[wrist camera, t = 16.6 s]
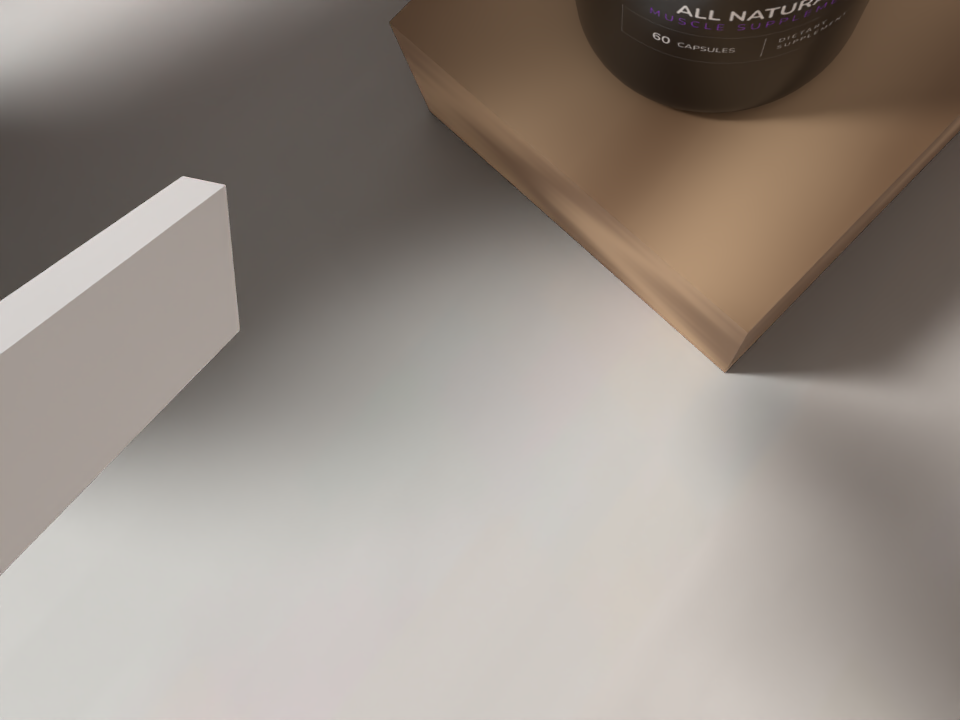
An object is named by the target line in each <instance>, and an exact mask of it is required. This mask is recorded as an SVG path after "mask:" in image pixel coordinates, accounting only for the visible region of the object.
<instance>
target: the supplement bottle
mask: <svg viewBox="0 0 960 720" xmlns="http://www.w3.org/2000/svg"><path fill="white" fill-rule="evenodd" d="M575 2H576V7H577V11H578V16H579V20H580V23H581V26H582V29H583V32H584V34H585V36H586V38H587V40H588V43H589V44H590V46H591V48H592V49H593V51H594V53H595V54H596V56H597V57H598V58H599V59H600V61H601V62H602V63H603V65H604V66H605V67H606V68H607V69H608V70H609V71H610V72H611V73H612V74H613V75H614V76H615V77H616V78H617V79H618V80H620V81H621V82H622V83H623V84H624V85H626V86H627V87H629V88H630V89H632V90H633V91H635V92H636V93H638V94H640V95H642V96H644V97H645V98H648V99H650V100H652V101H655V102H657V103H659V104H662V105H665V106H668V107H672V108H676V109H680V110H685V111H692V112H699V113H728V112H735V111H743V110H747V109H752V108H756V107H759V106H762V105H765V104H769V103H771V102H774V101H776V100H778V99H781V98H783V97H785V96H787V95H789V94H791V93H793V92H794V91H796V90H798V89H799V88H801V87H802V86H804V85H805V84H807V83H808V82H810V81H811V80H812V79H814V78H815V77H816V76H817V75H819V74H820V73H821V72H822V71H823V70H824V69H825V68H826V67H827V66H828V65H829V64H830V63H831V62H832V61H833V60H834V59H835V58H836V56H837V55H838V54H839V53H840V52H841V50H842V49H843V47H844V46H845V44H846V43H847V41H848V40H849V38H850V37H851V35H852V33H853V31H854V30H855V28H856V26H857V24H858V22H859V20H860V18H861V16H862V14H863V12H864V10H865V8H866V6H867V4H868V3H869V0H575Z"/></svg>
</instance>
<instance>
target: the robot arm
mask: <svg viewBox="0 0 960 720" xmlns="http://www.w3.org/2000/svg"><path fill="white" fill-rule="evenodd" d="M239 331H240V324H239V314H238V304H237V294H236V284H235V273H234V263H233V253H232V243H231V233H230V223H229V212H228V202H227V192H226V185H224V184H219V183H214V182H209V181H204V180H200V179H195V178H190V177H185V176H182V177H180V178H179V179H178V180H176V181H175V182H173V183H172V184H170V185H169V186H167V187H166V188H164V189H163V190H161V191H160V192H159V193H157V194H156V195H154V196H153V197H151V198H150V199H148V200H147V201H145V202H144V203H143V204H141V205H140V206H138V207H137V208H135V209H134V210H132V211H131V212H129V213H128V214H126V215H125V216H124V217H122V218H121V219H119V220H118V221H116V222H115V223H113V224H112V225H110V226H109V227H108V228H106V229H105V230H103V231H102V232H100V233H99V234H97V235H96V236H94V237H93V238H91V239H90V240H89V241H87V242H86V243H84V244H83V245H81V246H80V247H78V248H77V249H75V250H74V251H73V252H71V253H70V254H68V255H67V256H65V257H64V258H62V259H61V260H59V261H58V262H57V263H55V264H54V265H52V266H51V267H49V268H48V269H46V270H45V271H43V272H42V273H40V274H39V275H38V276H36V277H35V278H33V279H32V280H30V281H29V282H27V283H26V284H24V285H23V286H22V287H20V288H19V289H17V290H16V291H14V292H13V293H11V294H10V295H8V296H7V297H5V298H4V299H3V300H1V301H0V575H1V574H2V573H3V572H4V571H5V570H6V569H7V568H8V567H9V566H10V565H11V564H12V563H13V562H14V561H15V560H16V559H17V558H18V557H19V556H20V555H21V554H22V553H23V552H24V551H25V550H26V549H27V548H28V547H29V546H30V545H31V544H32V543H33V542H34V541H35V540H36V539H37V538H38V536H39V535H40V534H41V533H42V532H43V531H44V530H45V529H46V528H47V527H48V526H49V525H50V524H51V523H52V522H53V521H54V520H55V519H56V518H57V517H58V516H59V515H60V514H61V513H62V512H63V511H64V510H65V509H66V508H67V507H68V506H69V505H70V504H71V503H72V502H73V501H74V500H75V499H76V498H77V497H78V496H79V495H80V494H81V493H82V492H83V490H84V489H85V488H86V487H87V486H88V485H89V484H90V483H91V482H92V481H93V480H94V479H95V478H96V477H97V476H98V475H99V474H100V473H101V472H102V471H103V470H104V469H105V468H106V467H107V466H108V465H109V464H110V463H111V462H112V461H113V460H114V459H115V458H116V457H117V456H118V455H119V454H120V453H121V452H122V451H123V450H124V449H125V448H126V447H127V446H128V444H129V443H130V442H131V441H132V440H133V439H134V438H135V437H136V436H137V435H138V434H139V433H140V432H141V431H142V430H143V429H144V428H145V427H146V426H147V425H148V424H149V423H150V422H151V421H152V420H153V419H154V418H155V417H156V416H157V415H158V414H159V413H160V412H161V411H162V410H163V409H164V408H165V407H166V406H167V405H168V404H169V403H170V402H171V401H172V400H173V398H174V397H175V396H176V395H177V394H178V393H179V392H180V391H181V390H182V389H183V388H184V387H185V386H186V385H187V384H188V383H189V382H190V381H191V380H192V379H193V378H194V377H195V376H196V375H197V374H198V373H199V372H200V371H201V370H202V369H203V368H204V367H205V366H206V365H207V364H208V363H209V362H210V361H211V360H212V359H213V358H214V357H215V356H216V355H217V354H218V352H219V351H220V350H221V349H222V348H223V347H224V346H225V345H226V344H227V343H228V342H229V341H230V340H231V339H232V338H233V337H234V336H235V335H236V334H237V333H238V332H239Z"/></svg>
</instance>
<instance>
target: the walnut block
mask: <svg viewBox="0 0 960 720" xmlns="http://www.w3.org/2000/svg"><path fill="white" fill-rule="evenodd" d="M389 24H390V26H391V28H392V30H393V32H394V34H395V37H396V39H397V41H398V43H399V45H400V47H401V50H402V52H403V54H404V56H405V58H406V60H407V63H408V65H409V67H410V69H411V71H412V74H413V76H414V78H415V80H416V82H417V84H418V87H419V89H420V91H421V93H422V95H423V97H424V100H425V102H426V104H427V106H428V108H429V110H430V112H431V113H432V114H433V115H435V116H436V117H437V118H438V119H439V120H440V121H441V122H442V123H444V124H445V125H446V126H447V127H448V128H449V129H450V130H451V131H453V132H454V133H455V134H456V135H457V136H458V137H459V138H461V139H462V140H463V141H464V142H465V143H466V144H467V145H468V146H470V147H471V148H472V149H473V150H474V151H475V152H476V153H477V154H479V155H480V156H481V157H482V158H483V159H484V160H485V161H486V162H488V163H489V164H490V165H491V166H492V167H493V168H494V169H495V170H497V171H498V172H499V173H500V174H501V175H502V176H503V177H504V178H506V179H507V180H508V181H509V182H510V183H511V184H512V185H514V186H515V187H516V188H517V189H518V190H519V191H520V192H521V193H523V194H524V195H525V196H526V197H527V198H528V199H529V200H530V201H532V202H533V203H534V204H535V205H536V206H537V207H538V208H539V209H541V210H542V211H543V212H544V213H545V214H546V215H547V216H548V217H550V218H551V219H552V220H553V221H554V222H555V223H556V224H557V225H559V226H560V227H561V228H562V229H563V230H564V231H565V232H567V233H568V234H569V235H570V236H571V237H572V238H573V239H574V240H576V241H577V242H578V243H579V244H580V245H581V246H582V247H583V248H585V249H586V250H587V251H588V252H589V253H590V254H591V255H592V256H594V257H595V258H596V259H597V260H598V261H599V262H600V263H601V264H603V265H604V266H605V267H606V268H607V269H608V270H609V271H611V272H612V273H613V274H614V275H615V276H616V277H617V278H618V279H620V280H621V281H622V282H623V283H624V284H625V285H626V286H627V287H629V288H630V289H631V290H632V291H633V292H634V293H635V294H636V295H638V296H639V297H640V298H641V299H642V300H643V301H644V302H645V303H647V304H648V305H649V306H650V307H651V308H652V309H653V310H654V311H656V312H657V313H658V314H659V315H660V316H661V317H662V318H664V319H665V320H666V321H667V322H668V323H669V324H670V325H671V326H673V327H674V328H675V329H676V330H677V331H678V332H679V333H680V334H682V335H683V336H684V337H685V338H686V339H687V340H688V341H689V342H691V343H692V344H693V345H694V346H695V347H696V348H697V349H698V350H700V351H701V352H702V353H703V354H704V355H705V356H706V357H707V358H709V359H710V360H711V361H712V362H713V363H714V364H715V365H717V366H718V367H719V368H720V369H721V370H722V371H723V372H724V373H725V372H726V371H727V370H728V369H729V368H730V367H731V366H732V365H733V364H734V363H735V362H736V361H737V360H738V359H739V358H740V357H741V356H742V355H743V354H744V353H745V352H746V351H747V350H748V349H749V348H750V347H751V346H752V345H753V344H754V342H755V341H756V340H757V339H758V338H759V337H760V336H761V335H762V334H763V333H764V332H765V331H766V330H767V329H768V328H769V327H770V326H771V325H772V324H773V323H774V322H775V321H776V320H777V319H778V318H779V317H780V316H781V315H782V314H783V313H784V312H785V311H786V309H787V308H788V307H789V306H790V305H791V304H792V303H793V302H794V301H795V300H796V299H797V298H798V297H799V296H800V295H801V294H802V293H803V292H804V291H805V290H806V289H807V288H808V287H809V286H810V285H811V284H812V283H813V282H814V281H815V280H816V279H817V278H818V276H819V275H820V274H821V273H822V272H823V271H824V270H825V269H826V268H827V267H828V266H829V265H830V264H831V263H832V262H833V261H834V260H835V259H836V258H837V257H838V256H839V255H840V254H841V253H842V252H843V251H844V250H845V249H846V248H847V247H848V246H849V245H850V243H851V242H852V241H853V240H854V239H855V238H856V237H857V236H858V235H859V234H860V233H861V232H862V231H863V230H864V229H865V228H866V227H867V226H868V225H869V224H870V223H871V222H872V221H873V220H874V219H875V218H876V217H877V216H878V215H879V214H880V213H881V212H882V210H883V209H884V208H885V207H886V206H887V205H888V204H889V203H890V202H891V201H892V200H893V199H894V198H895V197H896V196H897V195H898V194H899V193H900V192H901V191H902V190H903V189H904V188H905V187H906V186H907V185H908V184H909V183H910V182H911V181H912V180H913V179H914V177H915V176H916V175H917V174H918V173H919V172H920V171H921V170H922V169H923V168H924V167H925V166H926V165H927V164H928V163H929V162H930V161H931V160H932V159H933V158H934V157H935V156H936V155H937V154H938V153H939V152H940V151H941V150H942V149H943V148H944V147H945V145H946V144H947V143H948V142H949V141H950V140H951V139H952V138H953V137H954V136H955V135H956V134H957V133H958V132H959V131H960V0H869V3H868V4H867V6H866V8H865V10H864V12H863V14H862V16H861V18H860V20H859V22H858V24H857V26H856V28H855V30H854V31H853V33H852V35H851V37H850V38H849V40H848V41H847V43H846V44H845V46H844V47H843V49H842V50H841V52H840V53H839V54H838V55H837V56H836V58H835V59H834V60H833V61H832V62H831V63H830V64H829V65H828V66H827V67H826V68H825V69H824V70H823V71H822V72H821V73H820V74H819V75H817V76H816V77H815V78H814V79H812V80H811V81H810V82H808V83H807V84H805V85H804V86H802V87H801V88H799V89H798V90H796V91H794V92H793V93H791V94H789V95H787V96H785V97H783V98H781V99H778V100H776V101H774V102H771V103H769V104H765V105H762V106H759V107H756V108H752V109H747V110H743V111H735V112H728V113H699V112H692V111H685V110H680V109H676V108H672V107H668V106H665V105H662V104H659V103H657V102H655V101H652V100H650V99H648V98H645V97H644V96H642V95H640V94H638V93H636V92H635V91H633V90H632V89H630V88H629V87H627V86H626V85H624V84H623V83H622V82H621V81H620V80H618V79H617V78H616V77H615V76H614V75H613V74H612V73H611V72H610V71H609V70H608V69H607V68H606V67H605V66H604V65H603V63H602V62H601V61H600V59H599V58H598V57H597V56H596V54H595V53H594V51H593V49H592V48H591V46H590V44H589V43H588V40H587V38H586V36H585V34H584V32H583V29H582V26H581V23H580V20H579V16H578V11H577V7H576V2H575V0H411V1H410V2H409V3H408V4H407V5H406V6H405V7H404V8H403V9H402V10H401V11H400V12H399V13H398V14H397V15H396V16H395V17H394V18H393V19H392V20H391V21H390V22H389Z"/></svg>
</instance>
